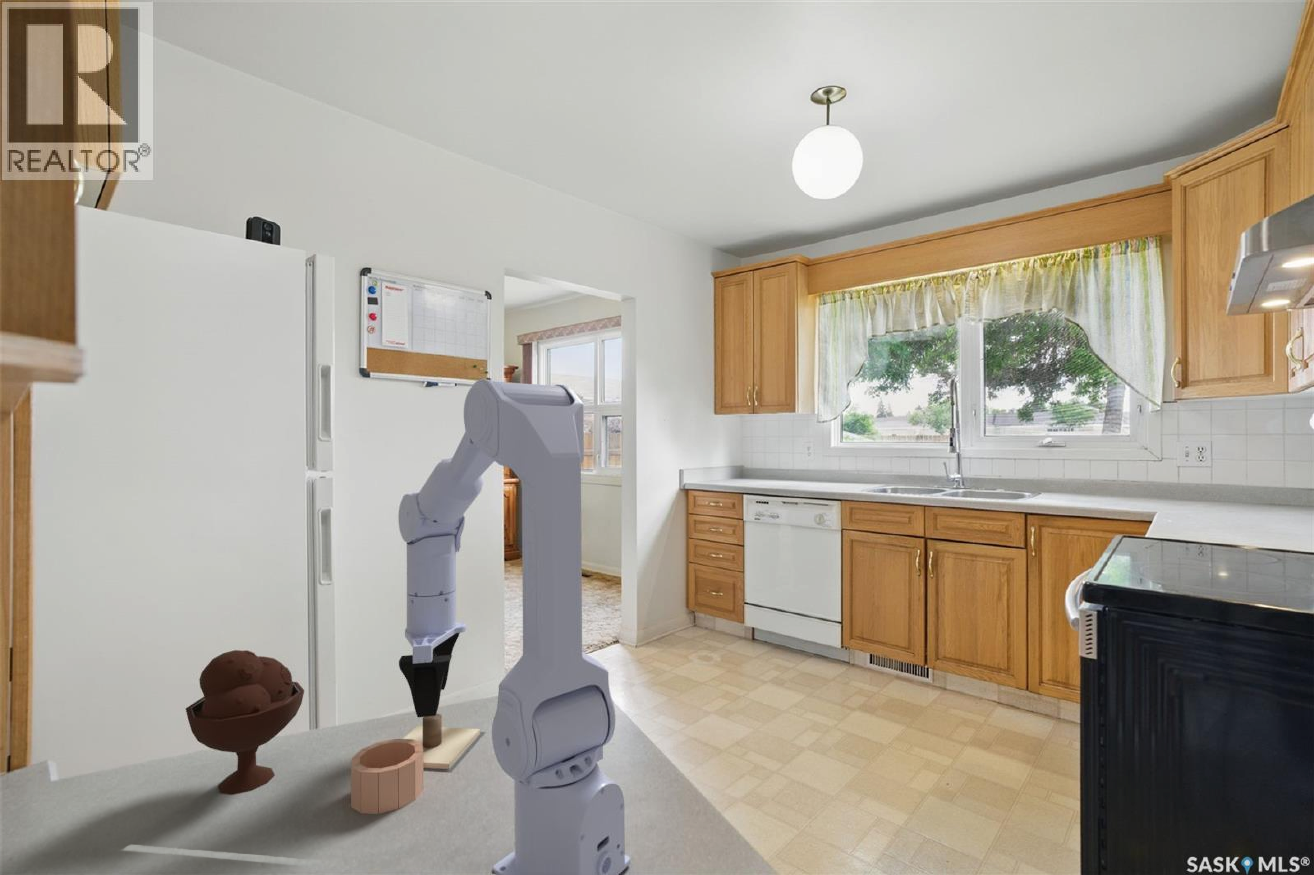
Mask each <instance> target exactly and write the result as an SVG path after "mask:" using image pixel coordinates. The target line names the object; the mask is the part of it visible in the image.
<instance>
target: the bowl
mask: <svg viewBox="0 0 1314 875" xmlns="http://www.w3.org/2000/svg"><path fill="white" fill-rule="evenodd" d="M350 761H351V762H350V807H351V808H352V809H353V810H354V811H356V812H358V813H360V814H371V815H372V814H373V815H378V814H384V813H388V812H392V811H396V810H399V809H401V808H403V807H405V806H407V805H409V804H411V803H412V802H414V801H416V800H417V799H418V797H419V796H420V795H421V794H422V793H423V791H424V771H423V746H422V743H419V742H417V741H415V740H413V739H403V738H393V739H387V740H383V741H377V742H376V743H373V744H371V745H369V746H366V747H364V748H362V749H360V750H358V751H357V753H355V754H354V755H353V756H352V757H351V760H350Z"/></svg>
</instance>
